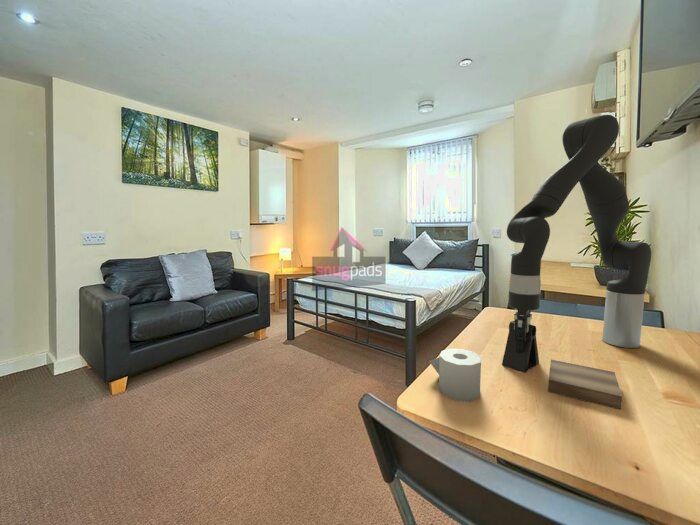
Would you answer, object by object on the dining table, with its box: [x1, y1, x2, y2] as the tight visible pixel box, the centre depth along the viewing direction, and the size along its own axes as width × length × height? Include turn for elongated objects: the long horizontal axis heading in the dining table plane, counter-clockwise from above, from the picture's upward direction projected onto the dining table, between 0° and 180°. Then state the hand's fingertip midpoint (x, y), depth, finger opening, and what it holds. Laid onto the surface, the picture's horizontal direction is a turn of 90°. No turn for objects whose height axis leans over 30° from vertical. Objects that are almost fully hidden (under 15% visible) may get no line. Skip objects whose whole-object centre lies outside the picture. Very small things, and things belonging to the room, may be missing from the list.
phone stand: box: [501, 320, 540, 374], centre depth 85 cm, size 9×6×12 cm, turn 125°
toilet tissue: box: [428, 348, 482, 402], centre depth 74 cm, size 9×13×9 cm
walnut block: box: [547, 359, 623, 411], centre depth 73 cm, size 13×13×3 cm
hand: (521, 349), depth 85 cm, fingers open, 5 cm apart
